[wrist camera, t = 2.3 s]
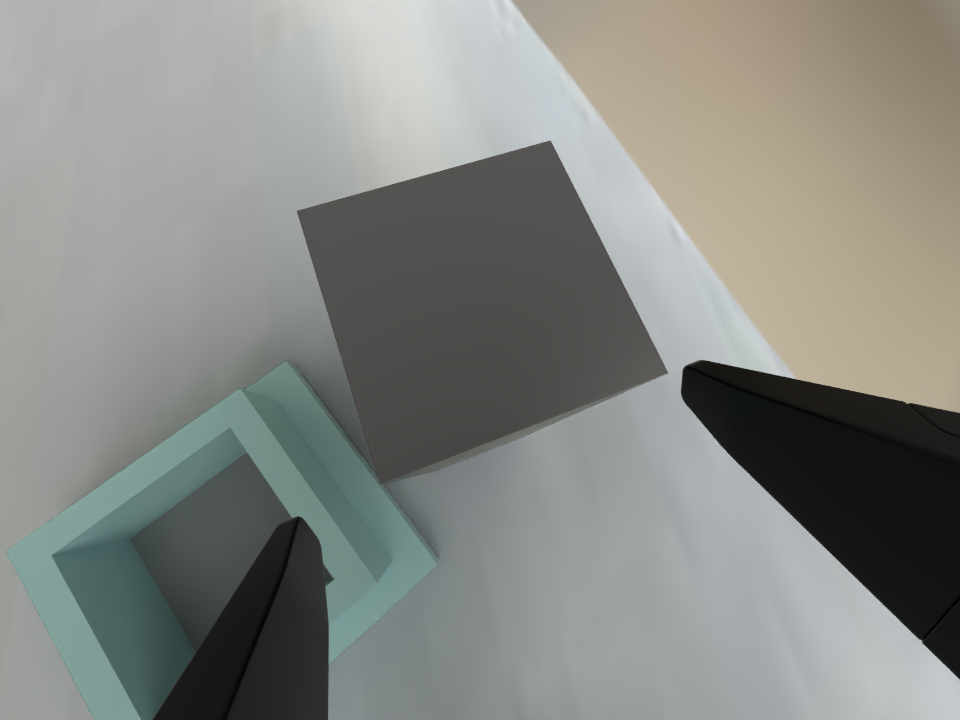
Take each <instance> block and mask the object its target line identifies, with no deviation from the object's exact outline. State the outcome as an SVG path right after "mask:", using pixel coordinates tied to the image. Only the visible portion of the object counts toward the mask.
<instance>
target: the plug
mask: <svg viewBox="0 0 960 720" xmlns="http://www.w3.org/2000/svg"><path fill="white" fill-rule="evenodd" d="M297 213H298V216H299V220H300V223H301V226H302V230H303V233H304V236H305V239H306V243H307V246H308V249H309V253H310V256H311V259H312V262H313V266H314V269H315V272H316V276H317V279H318V282H319V286H320V289H321V292H322V295H323V299H324V302H325V305H326V309H327V312H328V315H329V318H330V322H331V325H332V328H333V332H334V335H335V338H336V341H337V345H338V348H339V351H340V355H341V358H342V361H343V364H344V368H345V371H346V374H347V378H348V381H349V384H350V387H351V391H352V394H353V397H354V401H355V404H356V407H357V410H358V414H359V417H360V420H361V424H362V427H363V430H364V433H365V437H366V440H367V443H368V447H369V450H370V453H371V457H372V460H373V463H374V466H375V470H376V473H377V476H378V480H379V483H380V484H384V483H388V482H392V481H396V480H400V479H404V478H408V477H412V476H416V475H420V474H424V473H428V472H432V471H436V470H439V469H441V468H444V467H446V466H449V465H451V464H454V463H457V462H459V461H462V460H464V459H467V458H469V457H472V456H475V455H477V454H480V453H482V452H485V451H487V450H490V449H492V448H495V447H498V446H500V445H503V444H505V443H508V442H510V441H513V440H516V439H518V438H521V437H523V436H526V435H528V434H530V433H533V432H535V431H537V430H539V429H542V428H544V427H546V426H548V425H551V424H553V423H555V422H558V421H560V420H562V419H564V418H567V417H569V416H571V415H574V414H576V413H578V412H580V411H583V410H585V409H587V408H589V407H592V406H594V405H596V404H599V403H601V402H603V401H605V400H608V399H610V398H612V397H615V396H617V395H619V394H621V393H624V392H626V391H628V390H630V389H633V388H635V387H637V386H640V385H642V384H644V383H646V382H649V381H651V380H653V379H656V378H658V377H660V376H662V375H665V374H667V373H668V372H667V370H666V368H665V366H664V364H663V362H662V360H661V358H660V356H659V354H658V352H657V350H656V348H655V346H654V344H653V342H652V340H651V338H650V336H649V334H648V332H647V330H646V328H645V326H644V324H643V322H642V320H641V318H640V316H639V314H638V312H637V310H636V308H635V307H634V305H633V303H632V301H631V299H630V297H629V295H628V293H627V291H626V289H625V287H624V285H623V283H622V281H621V279H620V277H619V275H618V273H617V271H616V269H615V267H614V265H613V263H612V261H611V259H610V257H609V255H608V253H607V251H606V249H605V247H604V245H603V243H602V241H601V239H600V237H599V235H598V233H597V231H596V229H595V227H594V225H593V224H592V222H591V220H590V218H589V216H588V214H587V212H586V210H585V208H584V206H583V204H582V202H581V200H580V198H579V196H578V194H577V192H576V190H575V188H574V186H573V184H572V182H571V180H570V178H569V176H568V174H567V172H566V170H565V168H564V166H563V164H562V162H561V160H560V158H559V156H558V154H557V152H556V150H555V148H554V146H553V144H552V142H551V141H547V142H544V143H540V144H536V145H533V146H529V147H526V148H522V149H518V150H515V151H511V152H508V153H504V154H500V155H497V156H493V157H490V158H486V159H482V160H479V161H475V162H472V163H468V164H464V165H461V166H457V167H454V168H450V169H446V170H443V171H439V172H436V173H432V174H428V175H425V176H421V177H418V178H414V179H410V180H407V181H403V182H400V183H396V184H392V185H389V186H385V187H382V188H378V189H374V190H371V191H367V192H364V193H360V194H356V195H353V196H349V197H346V198H342V199H338V200H335V201H331V202H328V203H324V204H320V205H317V206H313V207H310V208H306V209H302V210H299V211H297Z"/></svg>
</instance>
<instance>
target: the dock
mask: <svg viewBox="0 0 960 720" xmlns="http://www.w3.org/2000/svg"><path fill="white" fill-rule="evenodd" d="M296 516H300V517H302V518H303V519H304V520H305V521H306V523H307V524H308V525H309V527H310V528H311V529H312V531H313V532H314V533H315V535H316V536H317V537H318V539H319V541H320V544H321V548H322V558H323V568H324V578H325V588H326V598H327V608H328V621H329V664H330V663H331V662H332V661H333V660H334V659H335V658H336V657H337V656H338V655H340V654H341V653H342V652H343V651H344V650H345V649H346V648H347V647H348V646H349V645H351V644H352V643H353V642H354V641H355V640H356V639H357V638H358V637H359V636H360V635H362V634H363V633H364V632H365V631H366V630H367V629H368V628H369V627H370V626H371V625H373V624H374V623H375V622H376V621H377V620H378V619H379V618H380V617H381V616H382V615H384V614H385V613H386V612H387V611H388V610H389V609H390V608H391V607H392V606H394V605H395V604H396V603H397V602H398V601H399V600H400V599H401V598H402V597H403V596H405V595H406V594H407V593H408V592H409V591H410V590H411V589H412V588H413V587H414V586H416V585H417V584H418V583H419V582H420V581H421V580H422V579H423V578H424V577H425V576H427V575H428V574H429V573H430V572H431V571H432V570H433V569H434V568H435V567H437V566H438V562H439V559H438V557H437V556H436V555H435V553H434V552H433V551H432V549H431V548H430V547H429V545H428V544H427V543H426V541H425V540H424V538H423V537H422V536H421V534H420V533H419V532H418V530H417V529H416V528H415V526H414V525H413V524H412V522H411V521H410V520H409V518H408V517H407V516H406V514H405V513H404V512H403V510H402V509H401V508H400V506H399V505H398V504H397V502H396V501H395V500H394V498H393V497H392V496H391V494H390V493H389V491H388V490H387V489H386V487H385V486H384V485H383V484H380V483H379V480H378V477H377V475H376V474H375V473H374V471H373V470H372V469H371V467H370V466H369V465H368V463H367V462H366V461H365V459H364V458H363V457H362V455H361V454H360V453H359V451H358V450H357V449H356V447H355V446H354V444H353V443H352V442H351V440H350V439H349V438H348V436H347V435H346V434H345V432H344V431H343V430H342V428H341V427H340V426H339V424H338V423H337V422H336V420H335V419H334V418H333V416H332V415H331V414H330V412H329V411H328V410H327V408H326V407H325V406H324V404H323V403H322V402H321V400H320V399H319V398H318V396H317V395H316V393H315V392H314V391H313V389H312V388H311V387H310V385H309V384H308V383H307V381H306V380H305V379H304V377H303V376H302V375H301V373H300V372H299V371H298V369H297V368H296V367H295V366H294V365H292V364H291V363H289V362H288V361H285V362H284V363H282V364H281V365H279V366H278V367H276V368H275V369H274V370H272V371H271V372H269V373H268V374H266V375H265V376H264V377H262V378H261V379H259V380H258V381H256V382H255V383H254V384H252V385H251V386H249V387H248V388H246V389H245V390H244V389H241V388H239V389H238V390H236V391H235V392H234V393H232V394H231V395H229V396H228V397H226V398H225V399H224V400H222V401H221V402H219V403H218V404H216V405H215V406H214V407H212V408H211V409H209V410H208V411H206V412H205V413H203V414H202V415H201V416H199V417H198V418H196V419H195V420H193V421H192V422H191V423H189V424H188V425H186V426H185V427H183V428H182V429H181V430H179V431H178V432H176V433H175V434H173V435H172V436H171V437H169V438H168V439H166V440H165V441H163V442H162V443H160V444H159V445H158V446H156V447H155V448H153V449H152V450H150V451H149V452H148V453H146V454H145V455H143V456H142V457H140V458H139V459H138V460H136V461H135V462H133V463H132V464H130V465H129V466H127V467H126V468H125V469H123V470H122V471H120V472H119V473H117V474H116V475H115V476H113V477H112V478H110V479H109V480H107V481H106V482H105V483H103V484H102V485H100V486H99V487H97V488H96V489H95V490H93V491H92V492H90V493H89V494H87V495H86V496H84V497H83V498H82V499H80V500H79V501H77V502H76V503H74V504H73V505H72V506H70V507H69V508H67V509H66V510H64V511H63V512H62V513H60V514H59V515H57V516H56V517H54V518H53V519H51V520H50V521H49V522H47V523H46V524H44V525H43V526H41V527H40V528H39V529H37V530H36V531H34V532H33V533H31V534H30V535H29V536H27V537H26V538H24V539H23V540H21V541H20V542H19V543H17V544H16V545H14V546H13V547H11V548H10V549H8V550H7V551H6V553H7V555H8V557H9V559H10V561H11V563H12V564H13V566H14V568H15V570H16V572H17V574H18V576H19V578H20V580H21V582H22V583H23V585H24V587H25V589H26V591H27V593H28V595H29V597H30V599H31V601H32V602H33V604H34V606H35V608H36V610H37V612H38V614H39V616H40V618H41V620H42V621H43V623H44V625H45V627H46V629H47V631H48V633H49V635H50V637H51V639H52V640H53V642H54V644H55V646H56V648H57V650H58V652H59V654H60V656H61V658H62V659H63V661H64V663H65V665H66V667H67V669H68V671H69V673H70V675H71V677H72V678H73V680H74V682H75V684H76V686H77V688H78V690H79V692H80V694H81V696H82V697H83V699H84V701H85V703H86V705H87V707H88V709H89V711H90V713H91V715H92V716H93V718H94V720H152V719H153V718H154V716H155V714H156V713H157V711H158V710H159V708H160V707H161V705H162V704H163V702H164V701H165V699H166V697H167V696H168V694H169V693H170V691H171V690H172V688H173V687H174V685H175V683H176V682H177V680H178V679H179V677H180V676H181V674H182V673H183V671H184V669H185V668H186V666H187V665H188V663H189V662H190V660H191V659H192V657H193V655H194V654H195V652H196V651H197V649H198V648H199V646H200V645H201V643H202V641H203V640H204V638H205V637H206V635H207V634H208V632H209V631H210V629H211V627H212V626H213V624H214V623H215V621H216V620H217V618H218V617H219V615H220V613H221V612H222V610H223V609H224V607H225V606H226V604H227V603H228V601H229V600H230V598H231V596H232V595H233V593H234V592H235V590H236V589H237V587H238V586H239V584H240V582H241V581H242V579H243V578H244V576H245V575H246V573H247V572H248V570H249V568H250V567H251V565H252V564H253V562H254V561H255V559H256V558H257V556H258V554H259V553H260V551H261V550H262V548H263V547H264V545H265V544H266V542H267V540H268V539H269V537H270V536H271V534H272V533H273V531H274V530H275V528H276V527H277V525H278V524H280V523H281V522H283V521H286V520H289V519H291V518H294V517H296Z"/></svg>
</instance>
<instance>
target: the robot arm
mask: <svg viewBox="0 0 960 720" xmlns="http://www.w3.org/2000/svg"><path fill="white" fill-rule="evenodd" d="M681 395H682V398H683V400H684V402H685V403H686V405H687V406H688V407H689V408H690V409H691V411H692V412H693V413H694V414H695V415H696V417H697V418H698V419H699V420H700V421H701V422H702V424H703V425H704V426H705V427H706V428H707V430H708V431H709V432H710V433H711V434H712V435H713V437H714V438H715V439H716V440H717V441H718V443H719V444H720V445H721V446H722V447H723V448H724V449H725V450H726V452H727V453H728V454H729V455H730V456H731V457H732V458H733V459H734V460H735V461H736V462H737V463H738V464H739V465H740V466H741V467H742V468H743V469H744V470H746V471H747V472H748V473H749V474H750V475H751V476H752V477H753V478H754V479H755V480H756V481H757V482H758V483H759V484H760V485H761V486H762V487H763V488H764V489H765V490H766V491H767V492H768V493H769V494H770V495H771V496H772V497H773V498H774V499H775V500H776V501H777V502H778V503H779V504H780V505H781V506H782V507H784V508H785V509H786V510H787V511H788V512H789V513H790V514H791V515H792V516H793V517H794V518H795V519H796V520H797V521H798V522H799V523H800V524H801V525H802V526H803V527H804V528H805V529H806V530H807V531H808V532H809V533H810V534H811V535H812V536H813V537H814V538H815V539H816V540H817V541H818V542H819V543H821V544H822V545H823V546H824V547H825V548H826V549H827V550H828V551H829V552H830V553H831V554H832V555H833V556H834V557H835V558H836V559H837V560H838V561H839V562H840V563H841V564H842V565H843V566H844V567H845V568H846V569H847V570H848V571H849V572H850V573H851V574H852V575H853V576H854V577H855V578H856V579H858V580H859V581H860V582H861V583H862V584H863V585H864V586H865V587H866V588H867V589H868V590H869V591H870V592H871V593H872V594H873V595H874V596H875V597H876V598H877V599H878V600H879V601H880V602H881V603H882V604H883V605H884V606H885V607H886V608H887V609H888V610H889V611H890V612H891V613H892V614H893V615H894V616H896V617H897V618H898V619H899V620H900V621H901V622H902V623H903V624H904V625H905V626H906V627H907V628H908V629H909V630H910V631H911V632H912V633H913V634H914V635H915V636H916V637H917V638H918V639H920V640H922V643H923V644H924V645H925V646H926V647H927V648H928V649H929V650H930V651H931V652H932V653H933V654H934V655H935V656H936V657H937V658H938V659H939V660H940V661H941V662H942V663H943V664H944V665H945V666H947V667H948V668H949V669H950V670H951V671H952V672H953V673H954V674H955V675H956V676H957V677H958V678H959V679H960V413H957V412H951V411H947V410H941V409H936V408H932V407H927V406H922V405H918V404H913V403H909V404H906V403H905V402H903V401H898V400H893V399H888V398H884V397H878V396H874V395H868V394H864V393H859V392H855V391H850V390H845V389H840V388H835V387H831V386H826V385H821V384H815V383H811V382H806V381H802V380H797V379H792V378H787V377H782V376H777V375H773V374H768V373H763V372H758V371H753V370H749V369H744V368H739V367H734V366H729V365H724V364H720V363H715V362H710V361H705V360H699V361H696V362H693V363H691V364H688V365H686V366H685V367H684V369H683V373H682V385H681ZM328 672H329V621H328V608H327V598H326V588H325V578H324V568H323V558H322V548H321V544H320V541H319V539H318V537H317V536H316V535H315V533H314V532H313V531H312V529H311V528H310V527H309V525H308V524H307V523H306V521H305V520H304V519H303V518H302V517H300V516H296V517H294V518H291V519H289V520H286V521H283V522H281V523H280V524H278V525H277V527H276V528H275V530H274V531H273V533H272V534H271V536H270V537H269V539H268V540H267V542H266V544H265V545H264V547H263V548H262V550H261V551H260V553H259V554H258V556H257V558H256V559H255V561H254V562H253V564H252V565H251V567H250V568H249V570H248V572H247V573H246V575H245V576H244V578H243V579H242V581H241V582H240V584H239V586H238V587H237V589H236V590H235V592H234V593H233V595H232V596H231V598H230V600H229V601H228V603H227V604H226V606H225V607H224V609H223V610H222V612H221V613H220V615H219V617H218V618H217V620H216V621H215V623H214V624H213V626H212V627H211V629H210V631H209V632H208V634H207V635H206V637H205V638H204V640H203V641H202V643H201V645H200V646H199V648H198V649H197V651H196V652H195V654H194V655H193V657H192V659H191V660H190V662H189V663H188V665H187V666H186V668H185V669H184V671H183V673H182V674H181V676H180V677H179V679H178V680H177V682H176V683H175V685H174V687H173V688H172V690H171V691H170V693H169V694H168V696H167V697H166V699H165V701H164V702H163V704H162V705H161V707H160V708H159V710H158V711H157V713H156V714H155V716H154V718H153V719H152V720H328Z"/></svg>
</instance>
